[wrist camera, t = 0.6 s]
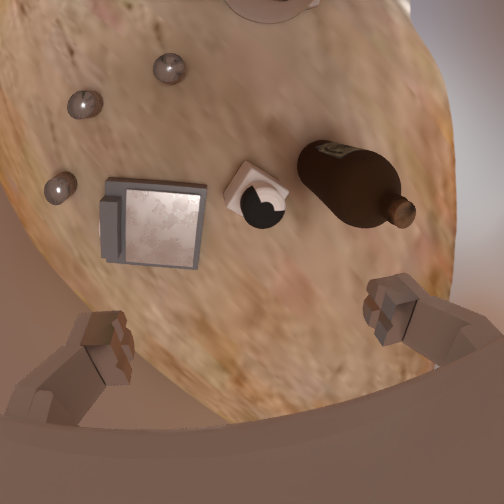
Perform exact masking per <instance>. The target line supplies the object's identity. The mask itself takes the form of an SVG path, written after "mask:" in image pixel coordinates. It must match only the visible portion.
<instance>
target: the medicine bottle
mask: <svg viewBox="0 0 504 504" xmlns="http://www.w3.org/2000/svg"><path fill="white" fill-rule="evenodd" d="M288 194H289V191H288V190H287V189H286V188H285V187H284V186H283V185H282V184H281V183H280V182H279V181H278V180H277V179H275V178H274V177H272V176H270V175H269V174H267V173H266V172H264V171H263V170H261V169H259V168H258V167H256V166H255V165H253V164H251V163H250V162H248V161H244V162H243V164H242V165H241V167H240V168H239V170H238V171H237V173H236V174H235V176H234V177H233V179H232V180H231V182H230V184H229V185H228V187H227V188H226V190H225V191H224V193H223V196H224V199H225V203H226V207H227V208H228V209H230V210H232V211H234V212H235V213H237V214H239V215H241V216H243V217H244V218H245V220H246V221H247V223H249V224H250V225H251V226H253V227H255V228H259V229H266V228H270V227H272V226H274V225H276V224H277V223H278V222H279V221H280V220H281V219H282V217H283V215H284V213H285V201H284V199H285V198H286V197H287V195H288Z"/></svg>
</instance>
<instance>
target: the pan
mask: <svg viewBox="0 0 504 504" xmlns="http://www.w3.org/2000/svg"><path fill="white" fill-rule="evenodd" d="M199 202H200V194H191V193H180V192H169V191H157V190H143V189H129V188H128V189H127V194H126V262H136V263H148V264H160V265H173V266H185V267H193V257H194V247H195V237H196V228H197V219H198V211H199Z"/></svg>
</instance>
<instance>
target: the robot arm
mask: <svg viewBox="0 0 504 504" xmlns="http://www.w3.org/2000/svg"><path fill="white" fill-rule="evenodd" d="M225 1H226V3H227V4H228V5H229V7H230V8H231V9H232V10H233V11H235V12H236V13H237V14H239V15H240V16H242V17H244V18H246V19H249V20H252V21H255V22H260V23H279V22H284V21H287V20H289V19H291V18H293V17H295V16H296V15H297V14H299V13H300V12H301V11H303V10H306V9H311V8H314V7H317V6H318V5H319V3H320V0H225ZM366 290H367V292H368V294H369V295H368V296H367V297H366V299H365V300H364V303H363V316H364V318H365V321H366V323H367V324H368V326H370V327H372V328H374V329H375V332H374V334H375V336H376V337H377V339H378V340H379V342H380V343H381V345H382V346H387V345H391V344H395V343H398V342H402V341H403V342H402V343H404V344H406V345H407V346H409V347H410V348H412V349H413V350H415V351H417V352H418V353H420V354H421V355H423V356H424V357H426V358H428V359H429V360H431V361H432V362H434V363H435V364H437V365H439V366H440V367H439V368H437V369H435V370H432V371H430V372H428V373H425V374H423V375H420V376H418V377H415V378H413V379H410V380H407V381H405V382H402V383H399V384H397V385H394V386H391V387H388V388H385V389H382V390H379V391H376V392H373V393H370V394H367V395H364V396H361V397H357V398H354V399H351V400H347V401H344V402H340V403H336V404H333V405H329V406H325V407H321V408H317V409H312V410H308V411H304V412H299V413H294V414H289V415H284V416H279V417H274V418H268V419H262V420H256V421H249V422H242V423H234V424H226V425H217V426H207V427H195V428H179V429H149V430H148V429H147V430H146V429H145V430H144V429H141V430H137V429H134V430H133V429H131V430H130V429H104V428H89V427H80V426H79V425H78V424H79V422H80V421H81V420H82V418H83V417H84V416H85V414H86V413H87V411H88V410H89V409H90V408H91V406H92V405H93V404H94V402H95V401H96V400H97V398H98V397H99V396H100V394H101V393H102V392H103V391H104V389H105V388H106V386H116V385H117V386H118V385H130V381H131V374H132V368H131V366H130V362H131V361H132V360H133V359H134V353H135V348H134V340H133V336H132V333H131V331H130V330H129V329H127V328H126V323H127V319H126V317H125V314H124V312H122V311H102V312H84V313H80V314H78V316H77V319H76V321H75V323H74V326H73V328H72V331H71V333H70V335H69V338H68V340H67V343H66V345H65V346H61V347H60V348H59V349H58V350H56V351H55V352H54V353H53V354H52V355H50V356H49V357H48V358H47V359H46V360H44V361H43V362H42V363H41V364H40V365H39V366H37V367H36V368H35V369H34V370H33V371H32V372H30V373H29V374H28V375H27V376H26V377H25V378H23V380H21V381H20V382H19V383H18V384H17V385H15V387H14V390H13V392H12V395H11V397H10V400H9V403H8V406H7V408H6V411H5V414H4V415H2V414H0V504H504V335H503V334H502V333H501V332H500V331H499V330H498V329H497V328H496V327H495V326H494V325H493V324H492V323H491V322H490V321H489V320H488V319H487V318H486V317H485V316H483V315H480V314H478V313H475V312H473V311H471V310H468V309H465V308H463V307H461V306H458V305H456V304H453V303H451V302H448V301H446V300H443V299H441V298H438V297H436V296H432V297H431V296H430V295H429V294H428V293H427V292H426V291H425V290H424V289H423V288H422V287H421V286H420V285H419V284H418V283H417V282H416V281H415V280H414V279H413V278H412V277H411V276H410V275H409V274H407V273H401V274H396V275H393V276H389V277H383V278H378V279H372V280H370V281H369V282H368V285H367V289H366Z"/></svg>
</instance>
